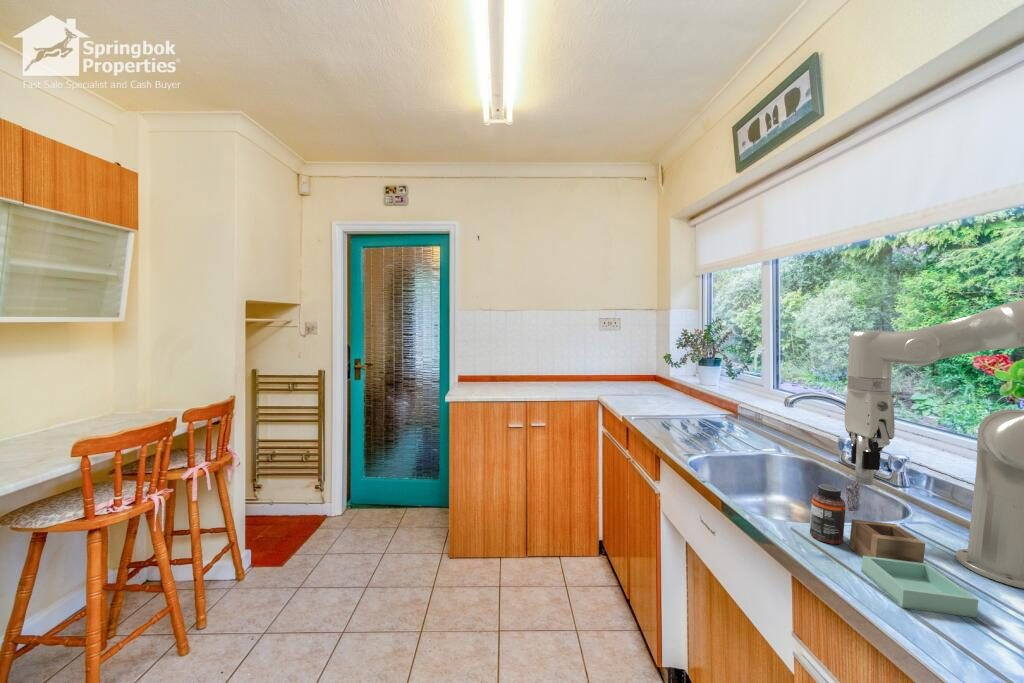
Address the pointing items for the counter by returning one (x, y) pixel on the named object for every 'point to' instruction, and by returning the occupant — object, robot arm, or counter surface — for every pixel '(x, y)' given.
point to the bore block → (885, 541)
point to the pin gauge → (860, 473)
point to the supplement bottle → (827, 515)
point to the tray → (919, 586)
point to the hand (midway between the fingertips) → (864, 465)
